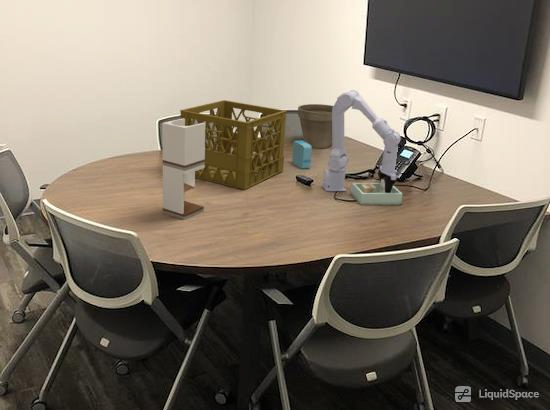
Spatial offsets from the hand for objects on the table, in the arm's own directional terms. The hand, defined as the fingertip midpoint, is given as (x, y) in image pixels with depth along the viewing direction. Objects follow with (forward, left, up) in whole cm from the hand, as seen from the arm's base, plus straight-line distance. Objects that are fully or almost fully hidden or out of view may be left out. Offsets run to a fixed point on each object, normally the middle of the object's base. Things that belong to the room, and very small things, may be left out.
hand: (385, 190), depth 248 cm
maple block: (-8, 0, -3) cm, 8 cm away
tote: (-4, 0, -4) cm, 6 cm away
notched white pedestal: (-87, -13, -4) cm, 88 cm away
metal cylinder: (0, 0, -2) cm, 2 cm away
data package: (-26, +49, -4) cm, 56 cm away
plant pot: (-7, +90, -4) cm, 90 cm away
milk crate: (-62, +37, -4) cm, 72 cm away
